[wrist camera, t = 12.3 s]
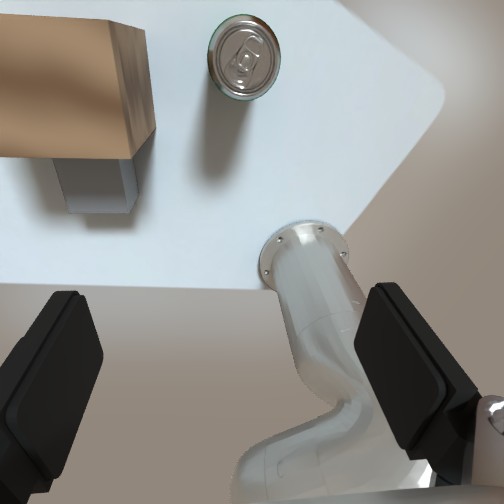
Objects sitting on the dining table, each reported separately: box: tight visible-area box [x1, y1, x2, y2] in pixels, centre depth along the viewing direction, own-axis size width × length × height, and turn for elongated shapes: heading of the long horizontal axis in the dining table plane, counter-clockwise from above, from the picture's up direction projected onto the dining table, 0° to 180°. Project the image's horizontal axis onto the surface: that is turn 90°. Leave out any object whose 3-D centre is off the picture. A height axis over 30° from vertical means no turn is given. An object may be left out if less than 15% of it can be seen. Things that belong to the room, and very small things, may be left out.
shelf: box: [0, 14, 156, 159], centre depth 25 cm, size 8×12×12 cm
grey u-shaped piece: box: [53, 157, 139, 213], centre depth 31 cm, size 14×6×5 cm, turn 178°
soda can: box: [207, 14, 281, 101], centre depth 25 cm, size 5×5×12 cm
